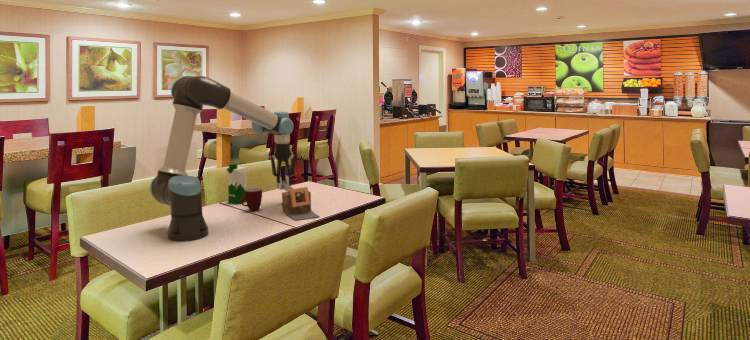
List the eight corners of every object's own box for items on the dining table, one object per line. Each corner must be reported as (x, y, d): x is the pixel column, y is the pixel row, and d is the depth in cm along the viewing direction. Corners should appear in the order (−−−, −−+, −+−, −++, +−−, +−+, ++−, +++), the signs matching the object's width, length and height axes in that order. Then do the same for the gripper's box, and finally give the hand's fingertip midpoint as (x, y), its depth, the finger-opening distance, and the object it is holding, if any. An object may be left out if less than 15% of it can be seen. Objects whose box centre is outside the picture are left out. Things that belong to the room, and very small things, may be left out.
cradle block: (286, 215, 219) (286, 195, 217) (282, 212, 224) (282, 192, 222) (311, 211, 224) (310, 192, 223) (306, 208, 229) (306, 189, 228)
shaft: (303, 199, 221) (303, 189, 220) (294, 200, 219) (293, 190, 218) (286, 188, 243) (285, 179, 243) (277, 189, 241) (277, 180, 240)
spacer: (293, 207, 216) (291, 189, 216) (291, 206, 218) (289, 189, 218) (309, 203, 220) (307, 187, 219) (308, 203, 222) (305, 186, 221)
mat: (294, 220, 209) (294, 220, 209) (286, 215, 219) (286, 214, 219) (319, 217, 215) (319, 216, 215) (311, 211, 224) (311, 210, 224)
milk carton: (225, 202, 242) (223, 164, 238) (239, 199, 249) (237, 161, 246) (237, 205, 237) (235, 165, 234) (251, 201, 245) (249, 163, 241)
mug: (247, 214, 220) (246, 193, 219) (237, 211, 226) (236, 190, 224) (266, 209, 228) (265, 189, 226) (256, 207, 233) (255, 187, 232)
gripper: (268, 144, 228) (270, 192, 232) (300, 142, 236) (301, 188, 240) (264, 142, 235) (266, 189, 239) (295, 141, 242) (296, 186, 246)
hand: (283, 188), depth 239 cm, fingers closed on shaft, 3 cm apart
